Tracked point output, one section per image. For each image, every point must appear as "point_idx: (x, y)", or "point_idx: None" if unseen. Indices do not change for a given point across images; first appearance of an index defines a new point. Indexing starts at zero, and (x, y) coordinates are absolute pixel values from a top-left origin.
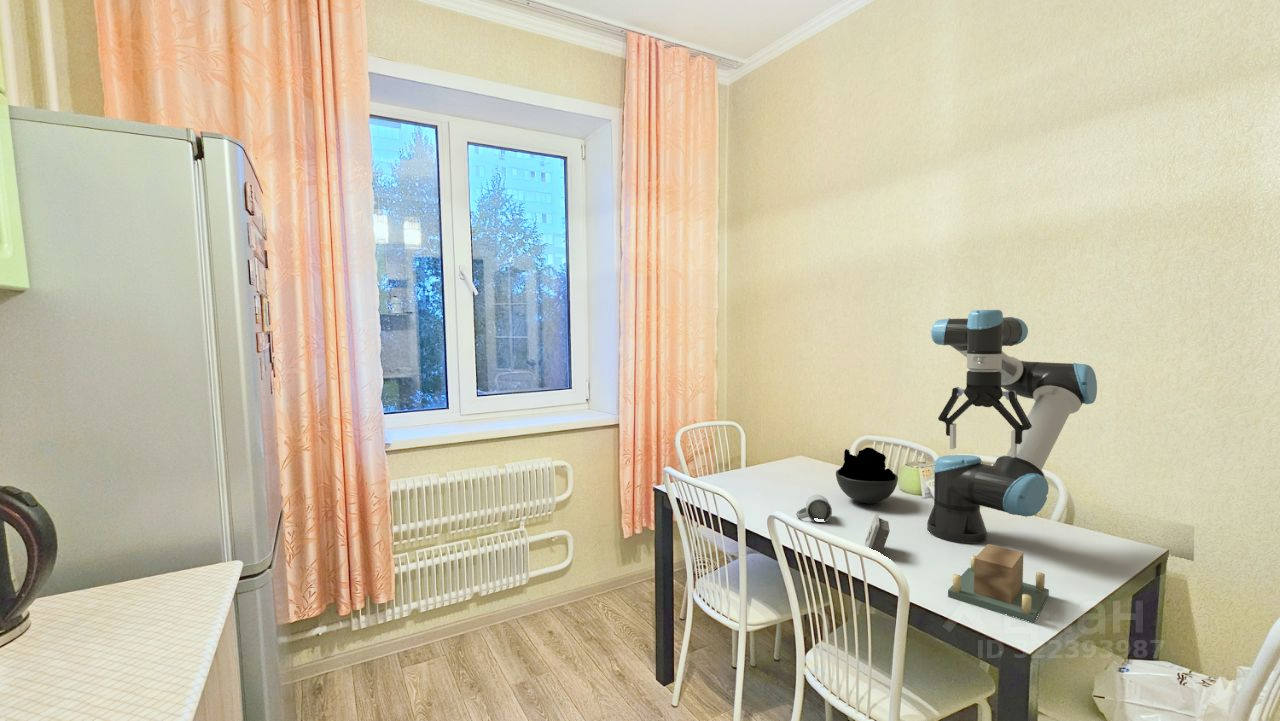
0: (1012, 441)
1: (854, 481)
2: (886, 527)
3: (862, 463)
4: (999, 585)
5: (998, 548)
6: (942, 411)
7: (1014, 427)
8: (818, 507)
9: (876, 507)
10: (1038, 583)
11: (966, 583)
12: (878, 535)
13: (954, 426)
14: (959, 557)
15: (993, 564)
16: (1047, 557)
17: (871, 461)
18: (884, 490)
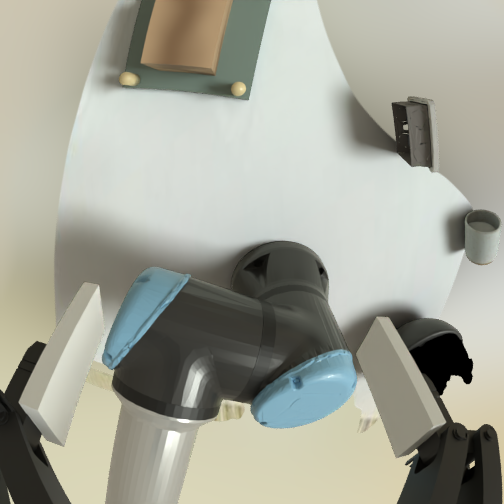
0: (56, 349)
1: (447, 328)
2: (413, 123)
3: (443, 369)
4: None
5: (188, 52)
6: (500, 473)
7: (14, 432)
8: (486, 227)
9: None
10: (133, 73)
11: (247, 26)
12: (416, 104)
13: (413, 430)
14: (268, 170)
15: None
16: (140, 255)
17: None
18: None
